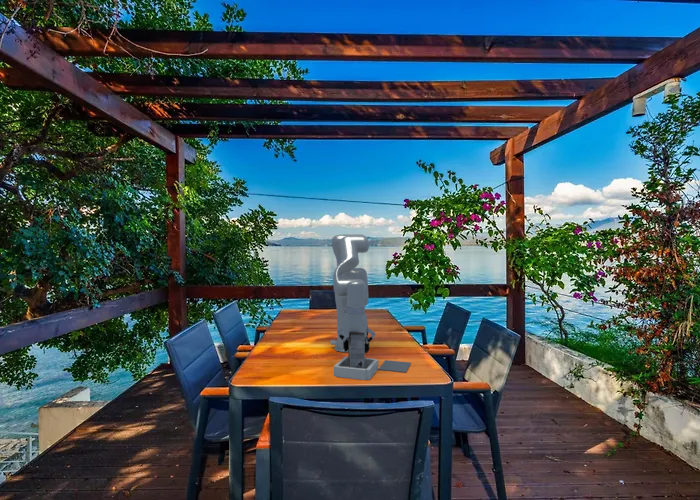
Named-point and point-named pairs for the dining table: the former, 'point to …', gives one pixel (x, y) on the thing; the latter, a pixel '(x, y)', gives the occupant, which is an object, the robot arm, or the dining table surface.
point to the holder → (356, 369)
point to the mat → (395, 366)
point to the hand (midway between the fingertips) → (356, 351)
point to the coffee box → (356, 350)
